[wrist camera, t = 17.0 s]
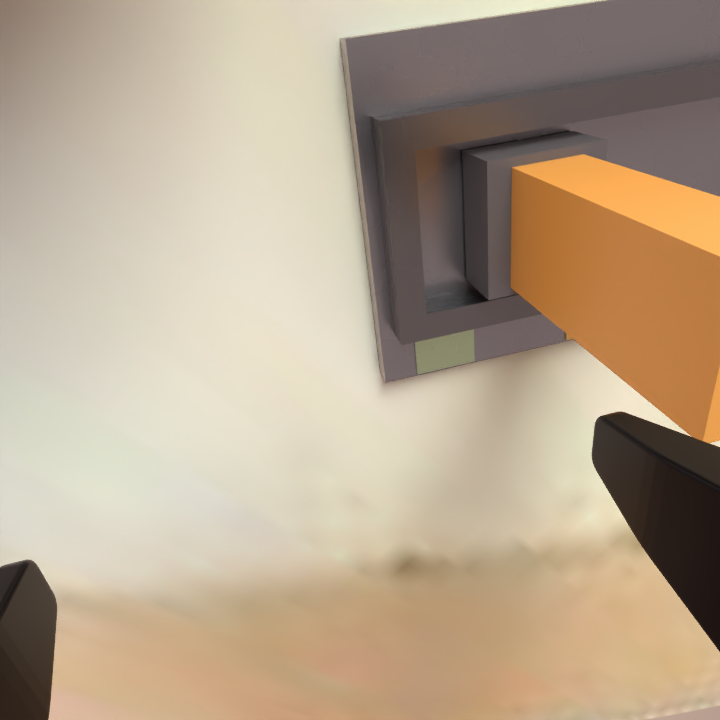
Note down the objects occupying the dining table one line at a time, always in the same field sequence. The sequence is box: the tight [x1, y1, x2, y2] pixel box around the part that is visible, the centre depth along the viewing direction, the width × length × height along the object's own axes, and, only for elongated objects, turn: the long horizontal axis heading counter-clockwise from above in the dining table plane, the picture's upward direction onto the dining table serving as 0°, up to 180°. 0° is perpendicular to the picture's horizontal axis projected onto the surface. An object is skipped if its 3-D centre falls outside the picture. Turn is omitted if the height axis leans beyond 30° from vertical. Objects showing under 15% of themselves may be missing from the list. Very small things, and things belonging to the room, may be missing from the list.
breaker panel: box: [340, 0, 720, 382], centre depth 21 cm, size 18×12×2 cm, turn 97°
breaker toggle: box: [462, 131, 720, 443], centre depth 16 cm, size 4×5×11 cm
